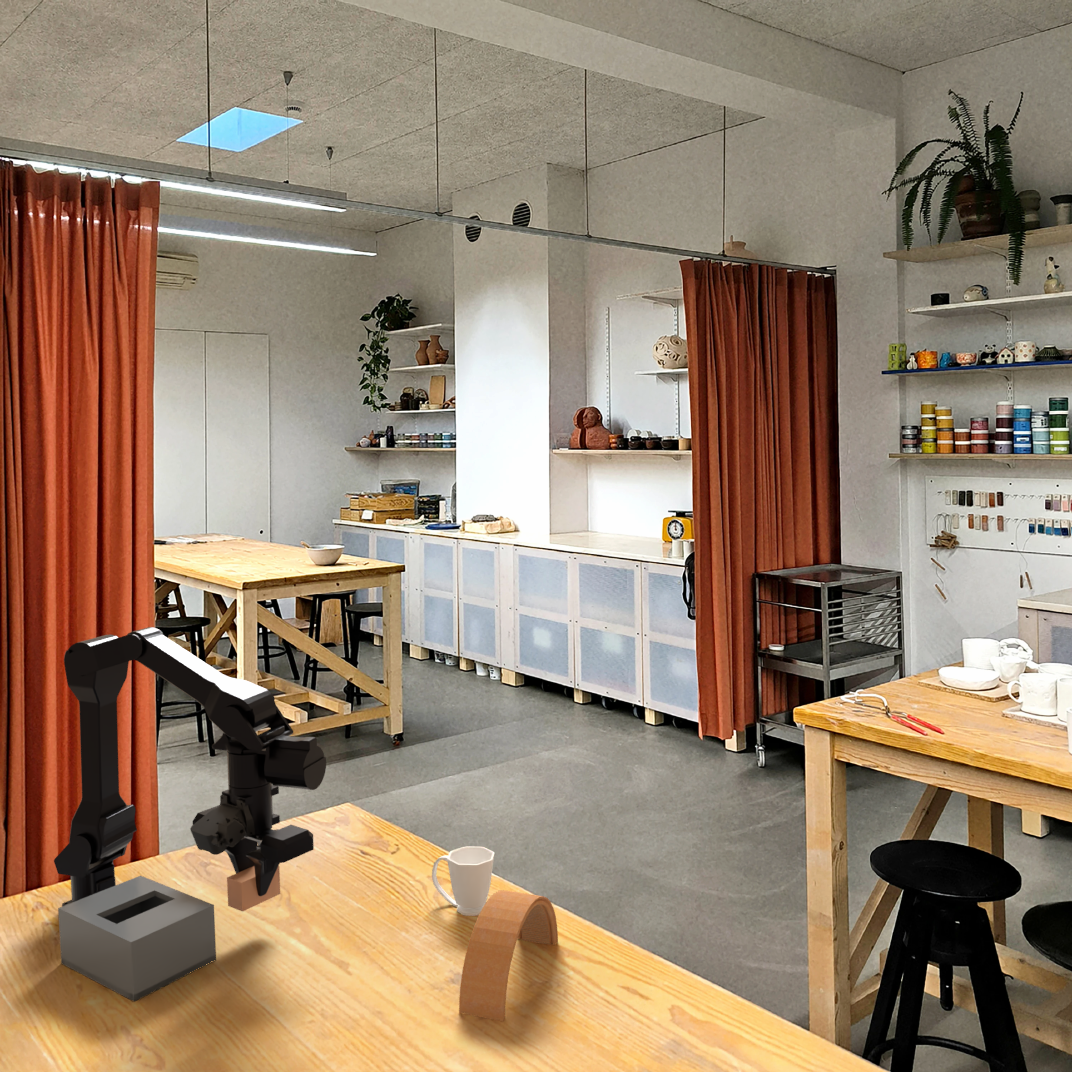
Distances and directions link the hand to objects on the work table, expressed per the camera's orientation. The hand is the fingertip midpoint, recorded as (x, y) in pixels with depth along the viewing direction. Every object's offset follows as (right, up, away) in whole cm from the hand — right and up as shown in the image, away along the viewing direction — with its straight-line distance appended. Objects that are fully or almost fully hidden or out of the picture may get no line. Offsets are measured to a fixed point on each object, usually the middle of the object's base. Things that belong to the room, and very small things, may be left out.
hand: (254, 892), depth 142 cm
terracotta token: (0, -1, 0) cm, 1 cm away
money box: (-13, -7, -7) cm, 16 cm away
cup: (+28, -5, +8) cm, 30 cm away
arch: (+36, -7, -11) cm, 38 cm away
